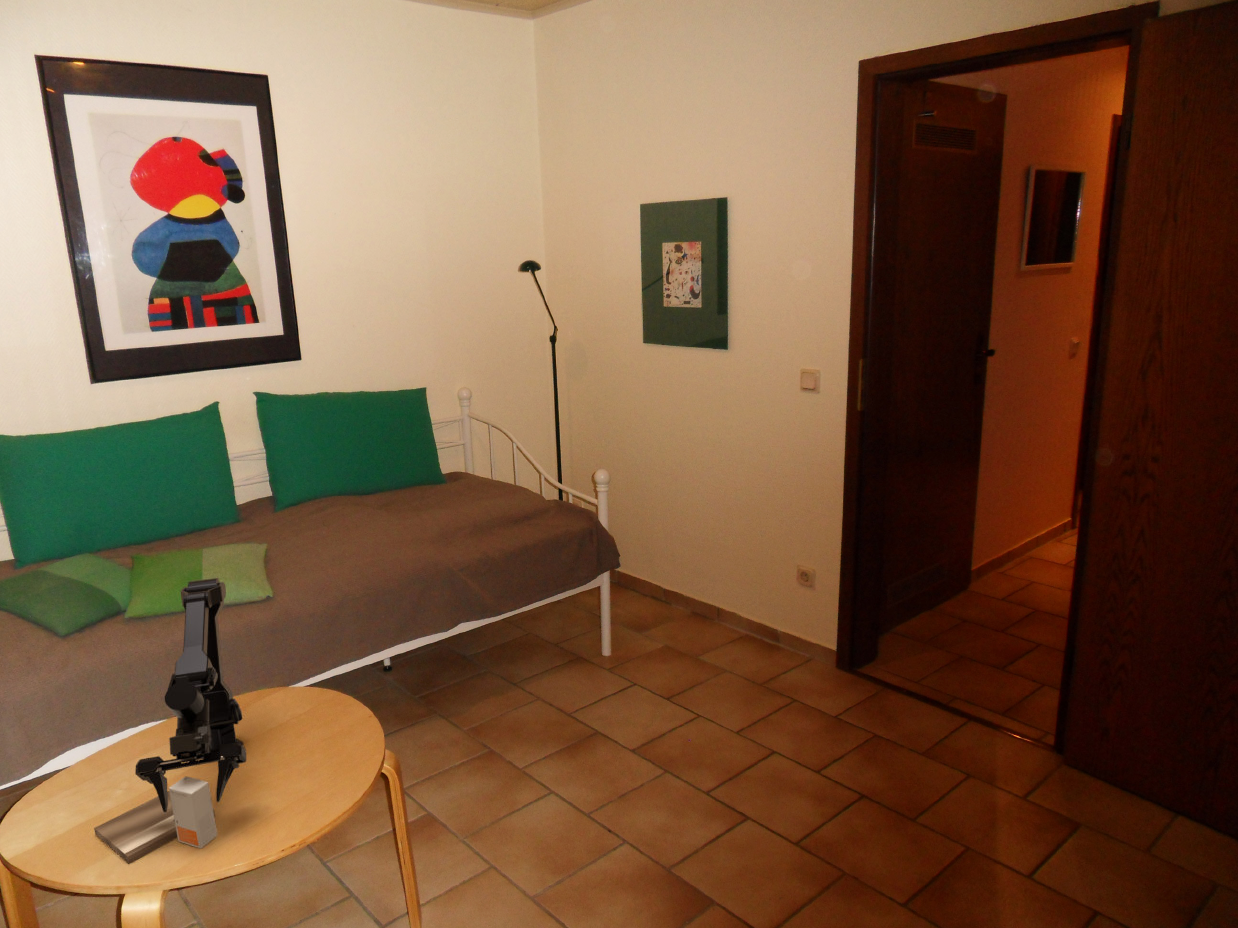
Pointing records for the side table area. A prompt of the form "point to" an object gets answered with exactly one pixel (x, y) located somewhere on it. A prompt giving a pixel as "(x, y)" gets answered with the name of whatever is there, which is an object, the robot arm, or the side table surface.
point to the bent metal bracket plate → (139, 830)
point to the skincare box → (193, 812)
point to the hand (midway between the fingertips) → (191, 806)
